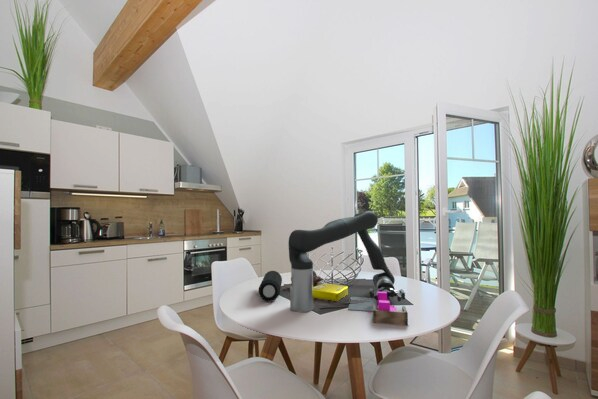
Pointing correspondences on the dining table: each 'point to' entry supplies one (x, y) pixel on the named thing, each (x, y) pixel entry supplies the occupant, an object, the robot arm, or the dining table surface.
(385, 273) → the robot arm
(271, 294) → the portable speaker
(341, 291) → the element tile
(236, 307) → the dining table surface
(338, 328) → the dining table surface
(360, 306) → the slate mat
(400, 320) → the walnut bracket
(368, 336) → the dining table surface
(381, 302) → the toy block
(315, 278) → the pine cone
